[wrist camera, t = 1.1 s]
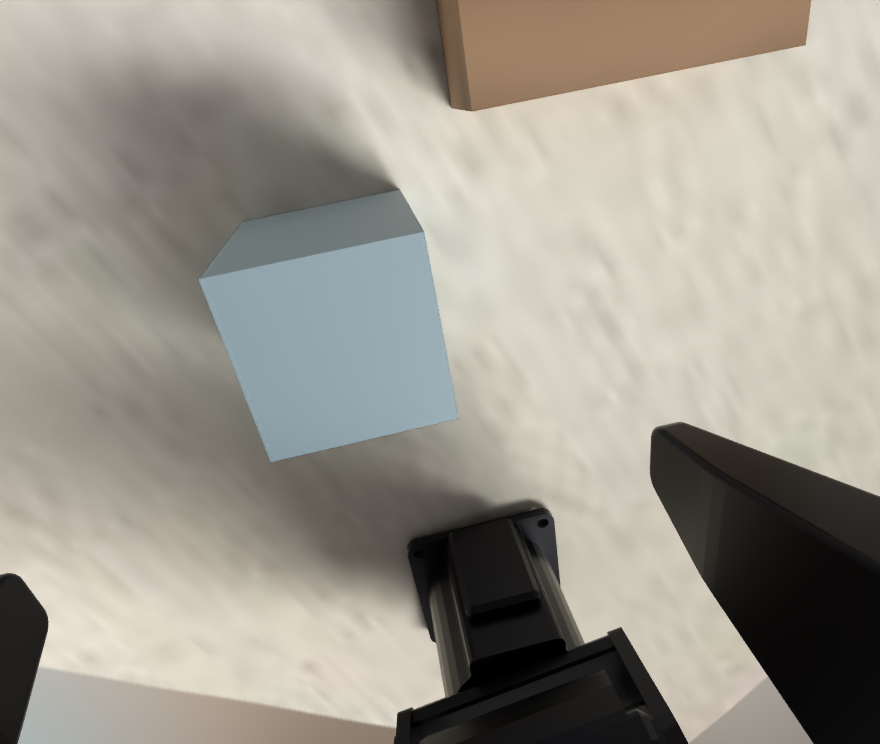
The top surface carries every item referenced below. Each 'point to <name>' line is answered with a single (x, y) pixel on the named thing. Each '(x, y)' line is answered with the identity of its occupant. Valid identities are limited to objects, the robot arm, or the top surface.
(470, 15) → the brown block
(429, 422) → the blue block
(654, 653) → the top surface
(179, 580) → the top surface
